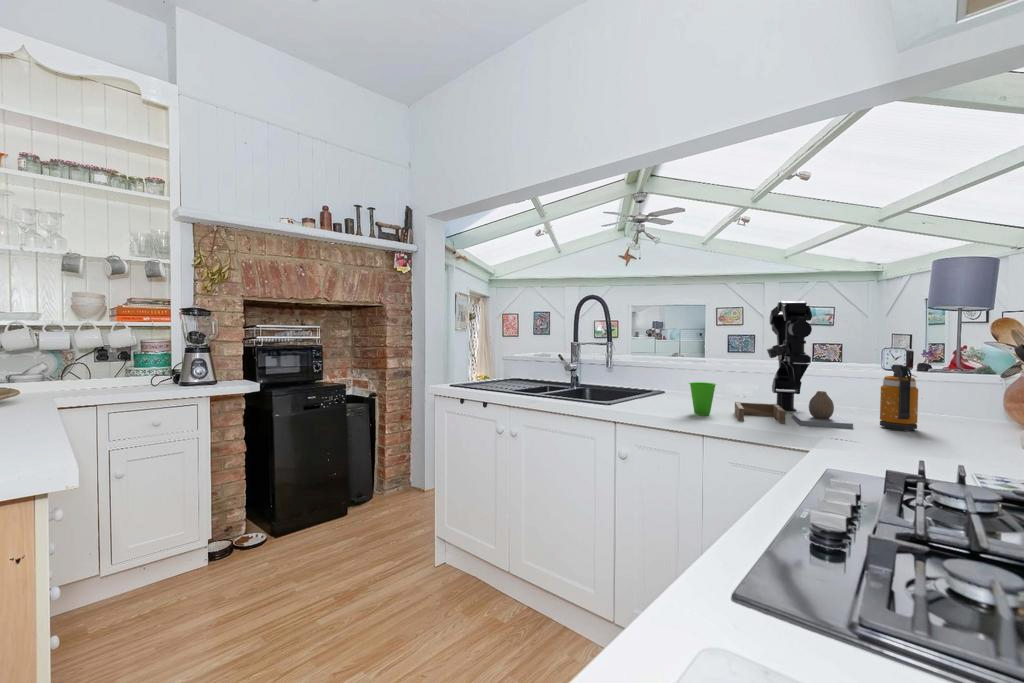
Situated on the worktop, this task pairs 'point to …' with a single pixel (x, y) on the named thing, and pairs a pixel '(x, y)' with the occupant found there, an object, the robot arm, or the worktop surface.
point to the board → (822, 421)
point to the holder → (759, 410)
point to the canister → (899, 400)
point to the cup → (702, 397)
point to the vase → (821, 406)
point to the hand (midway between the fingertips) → (794, 382)
